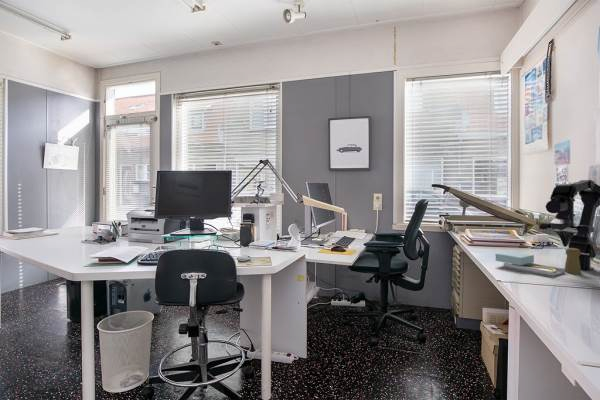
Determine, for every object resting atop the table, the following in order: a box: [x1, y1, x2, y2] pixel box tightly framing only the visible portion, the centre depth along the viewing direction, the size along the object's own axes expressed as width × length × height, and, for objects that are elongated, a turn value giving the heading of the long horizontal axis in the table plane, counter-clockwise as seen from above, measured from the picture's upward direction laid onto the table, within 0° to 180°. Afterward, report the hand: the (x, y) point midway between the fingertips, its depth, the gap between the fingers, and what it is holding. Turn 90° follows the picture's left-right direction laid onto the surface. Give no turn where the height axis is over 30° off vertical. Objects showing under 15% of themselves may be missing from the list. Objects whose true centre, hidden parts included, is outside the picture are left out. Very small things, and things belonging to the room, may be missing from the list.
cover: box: [495, 251, 535, 265], centre depth 159 cm, size 12×12×4 cm
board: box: [502, 262, 565, 278], centre depth 152 cm, size 12×20×2 cm, turn 30°
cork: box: [564, 247, 582, 275], centre depth 148 cm, size 6×6×11 cm
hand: (565, 246), depth 148 cm, fingers closed
